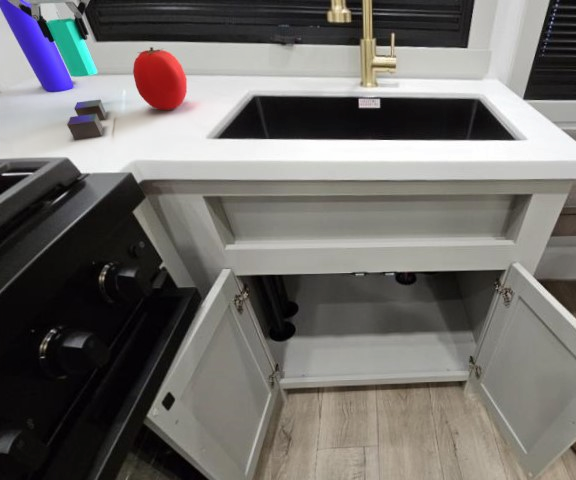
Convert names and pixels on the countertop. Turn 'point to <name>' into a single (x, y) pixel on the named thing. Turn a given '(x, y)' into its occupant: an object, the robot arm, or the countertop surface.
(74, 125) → the dark grey block
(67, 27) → the candle
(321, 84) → the countertop surface
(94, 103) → the dark brown block
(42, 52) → the bottle
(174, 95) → the tomato
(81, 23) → the robot arm
